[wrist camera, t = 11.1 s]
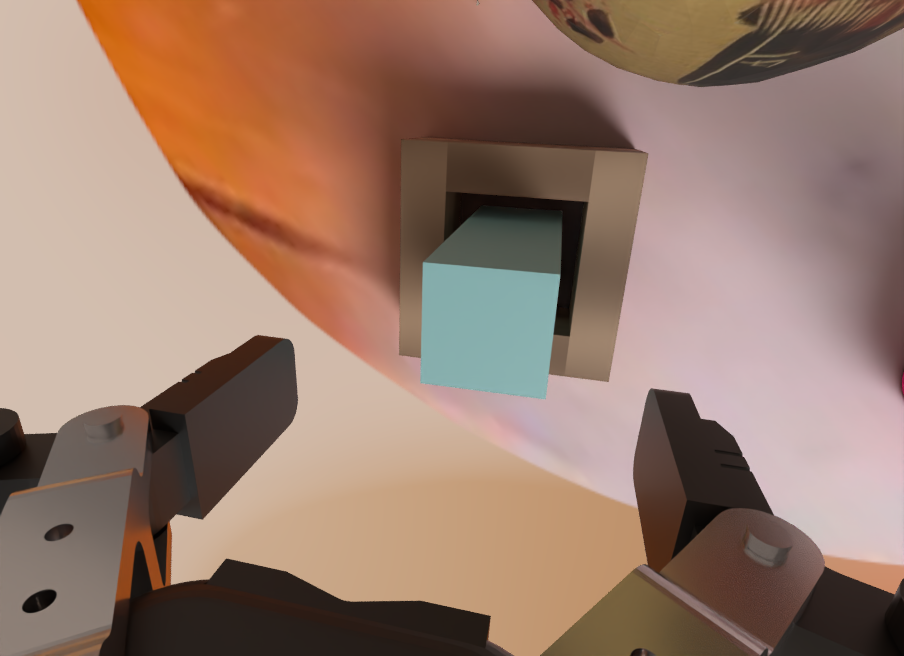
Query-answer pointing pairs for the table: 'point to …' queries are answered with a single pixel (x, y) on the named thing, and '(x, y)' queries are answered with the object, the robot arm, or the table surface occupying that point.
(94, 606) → the robot arm
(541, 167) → the socket block
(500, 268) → the peg
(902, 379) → the pepper mill
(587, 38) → the ceramic jug
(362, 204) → the table surface
